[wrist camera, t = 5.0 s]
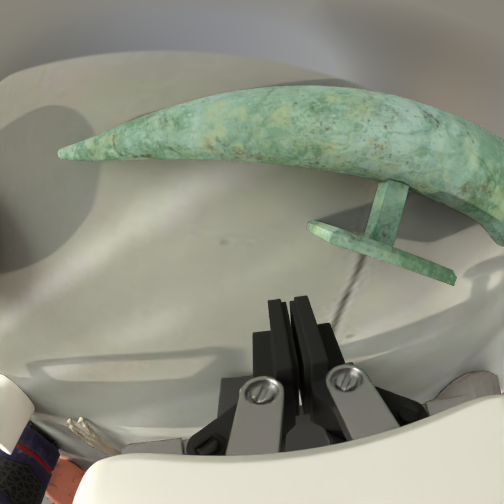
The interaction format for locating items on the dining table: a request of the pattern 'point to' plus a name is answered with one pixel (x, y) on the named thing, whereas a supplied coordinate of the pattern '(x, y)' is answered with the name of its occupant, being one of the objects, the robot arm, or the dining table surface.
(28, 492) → the canister
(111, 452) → the jawbone
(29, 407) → the cup
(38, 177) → the dining table surface
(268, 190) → the dining table surface
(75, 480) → the sugar bowl
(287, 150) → the decorative horn
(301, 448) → the drawer
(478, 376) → the coffee pot
